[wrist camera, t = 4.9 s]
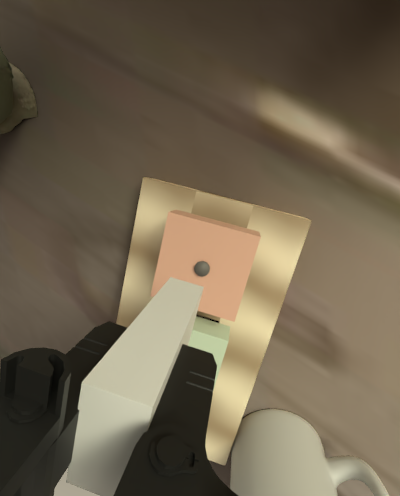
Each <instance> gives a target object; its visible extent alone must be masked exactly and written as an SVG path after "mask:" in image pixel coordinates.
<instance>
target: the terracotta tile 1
mask: <svg viewBox="0 0 400 496" xmlns="http://www.w3.org/2000/svg"><path fill="white" fill-rule="evenodd" d="M260 238H261V236H260V232H258V231H255V230H251V229H247V228H243V227H240V226H236V225H232V224H229V223H225V222H221V221H217V220H214V219H210V218H206V217H202V216H199V215H195V214H191V213H188V212H184V211H180V210H173V211H170V212H168V216H167V221H166V225H165V230H164V235H163V239H162V244H161V249H160V253H159V258H158V263H157V267H156V272H155V277H154V281H153V286H152V291H151V295H150V296H151V297H154V296H155V295H156V294H157V293H158V291H159V290H160V289H161V288H162V287H163V285H164V284H165V283H166V282H167V281H168V280H169V278H170V277H172V278H175V279H179V280H182V281H186V282H189V283H192V284H196V285H199V286H203V287H204V288H203V292H202V296H201V299H200V303H199V307H198V311H200V312H204V313H207V314H210V315H213V316H217V317H220V318H223V319H226V320H230V321H233V322H235V319H236V316H237V312H238V309H239V306H240V303H241V299H242V296H243V293H244V290H245V287H246V283H247V280H248V277H249V274H250V270H251V267H252V264H253V261H254V257H255V254H256V251H257V248H258V245H259V241H260Z"/></svg>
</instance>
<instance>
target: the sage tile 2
mask: <svg viewBox="0 0 400 496" xmlns="http://www.w3.org/2000/svg"><path fill="white" fill-rule="evenodd" d="M229 333H230V326H227V325H223V324H220V323H217V322H214V321H210V320H207V319H204V318H201V317H197V316H196V318H195V322H194V326H193V330H192V333H191V337H190V341H189V344H188V346H190V347H193V348H197V349H200V350H203V351H206V352H209V353H212V354H213V356H214V359H215V362H216V364H217V371H216V377H215V383H214V387H215V384H216V380H217V377H218V374H219V371H220V367H221V364H222V361H223V358H224V354H225V351H226V348H227V345H228V341H229ZM213 390H214V389H213Z"/></svg>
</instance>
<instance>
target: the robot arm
mask: <svg viewBox="0 0 400 496" xmlns="http://www.w3.org/2000/svg"><path fill="white" fill-rule="evenodd" d="M203 288H204V287H203V286H199V285H196V284H192V283H189V282H186V281H182V280H179V279H175V278H172V277H170V278H169V280H168V281H167V282H166V283H165V284H164V285H163V287H162V288H161V289H160V290H159V291H158V293H157V294H156V295H155V296H154V297H153V299H152V300H151V301H150V302H149V303H148V304H147V306H146V307H145V308H144V309H143V310H142V312H141V313H140V314H139V315H138V316H137V317H136V319H135V320H134V321H133V322H132V323H131V325H130V326H129V327H128V328H127V327H124V326H121V325H118V324H115V323H112V322H107V323H105V324H102V325H100V326H97V327H95V328H94V329H93V330H92V331H91V332H90V333H88V334H87V335H86V336H85V338H84V339H82V340H81V341H80V342H79V343H78V344H77V345H76V346H75V348H74V347H73V348H72V349H71V350H70V351H69V352H68V353H67V354H66V355H65V354H63V353H61V352H59V351H58V350H54V349H48V348H30V349H26V350H22V351H18V352H15V353H13V354H11V355H9V356H7V357H5V358H3V359H1V371H0V496H53V495H54V488H55V486H56V485H57V483H58V482H59V480H60V479H61V477H62V475H63V474H64V472H65V471H66V469H67V468H68V474H67V480H66V482H67V483H70V484H72V485H75V486H77V487H80V488H82V489H85V490H87V491H90V492H92V493H95V494H98V495H100V496H238V495H237V494H236V493H234V492H233V491H232V490H231V489H229V488H228V487H227V486H226V485H225V484H224V483H223V482H222V481H221V480H220V479H219V478H218V476H217V475H216V473H215V472H214V471H213V469H212V467H211V465H210V463H209V460H208V458H207V453H206V449H205V444H206V433H207V427H208V421H209V415H210V408H211V402H212V396H213V389H214V383H215V377H216V371H217V364H216V362H215V359H214V356H213V354H212V353H209V352H206V351H203V350H200V349H197V348H193V347H190V346H188V344H189V341H190V337H191V333H192V330H193V326H194V322H195V318H196V314H197V311H198V307H199V303H200V299H201V296H202V292H203ZM68 466H69V467H68Z"/></svg>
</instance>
